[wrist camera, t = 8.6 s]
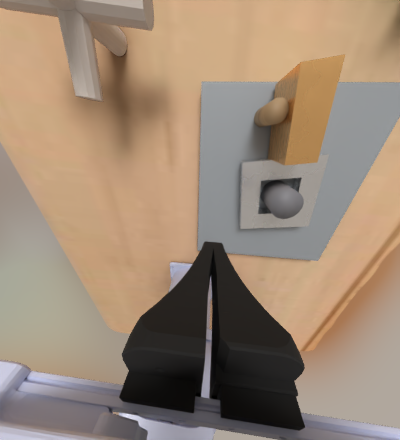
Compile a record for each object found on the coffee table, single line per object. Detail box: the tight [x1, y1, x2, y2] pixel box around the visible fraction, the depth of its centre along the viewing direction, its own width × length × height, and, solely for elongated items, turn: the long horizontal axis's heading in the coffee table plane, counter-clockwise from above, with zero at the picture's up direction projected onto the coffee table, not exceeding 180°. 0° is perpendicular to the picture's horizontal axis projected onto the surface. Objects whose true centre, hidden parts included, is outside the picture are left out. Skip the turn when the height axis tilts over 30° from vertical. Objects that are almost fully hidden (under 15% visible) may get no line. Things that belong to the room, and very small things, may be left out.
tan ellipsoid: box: [254, 97, 289, 127], centre depth 13 cm, size 2×2×4 cm
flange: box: [239, 55, 345, 229], centre depth 14 cm, size 14×8×4 cm, turn 6°
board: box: [198, 82, 400, 261], centre depth 17 cm, size 20×18×5 cm
